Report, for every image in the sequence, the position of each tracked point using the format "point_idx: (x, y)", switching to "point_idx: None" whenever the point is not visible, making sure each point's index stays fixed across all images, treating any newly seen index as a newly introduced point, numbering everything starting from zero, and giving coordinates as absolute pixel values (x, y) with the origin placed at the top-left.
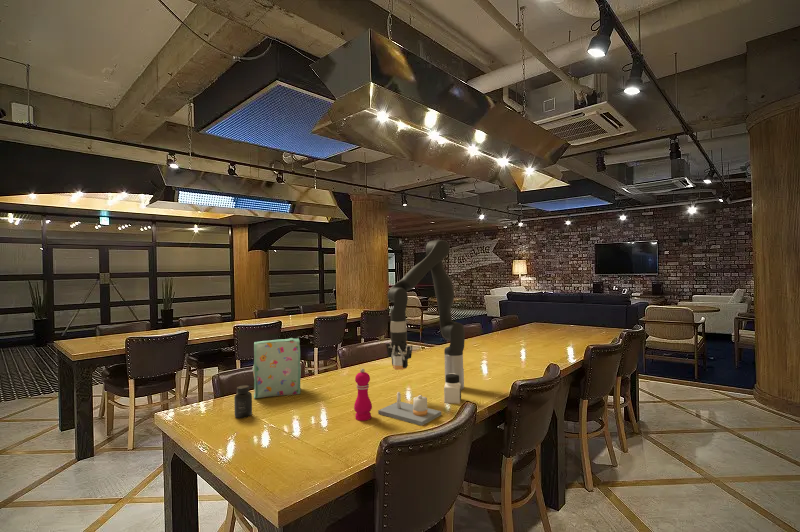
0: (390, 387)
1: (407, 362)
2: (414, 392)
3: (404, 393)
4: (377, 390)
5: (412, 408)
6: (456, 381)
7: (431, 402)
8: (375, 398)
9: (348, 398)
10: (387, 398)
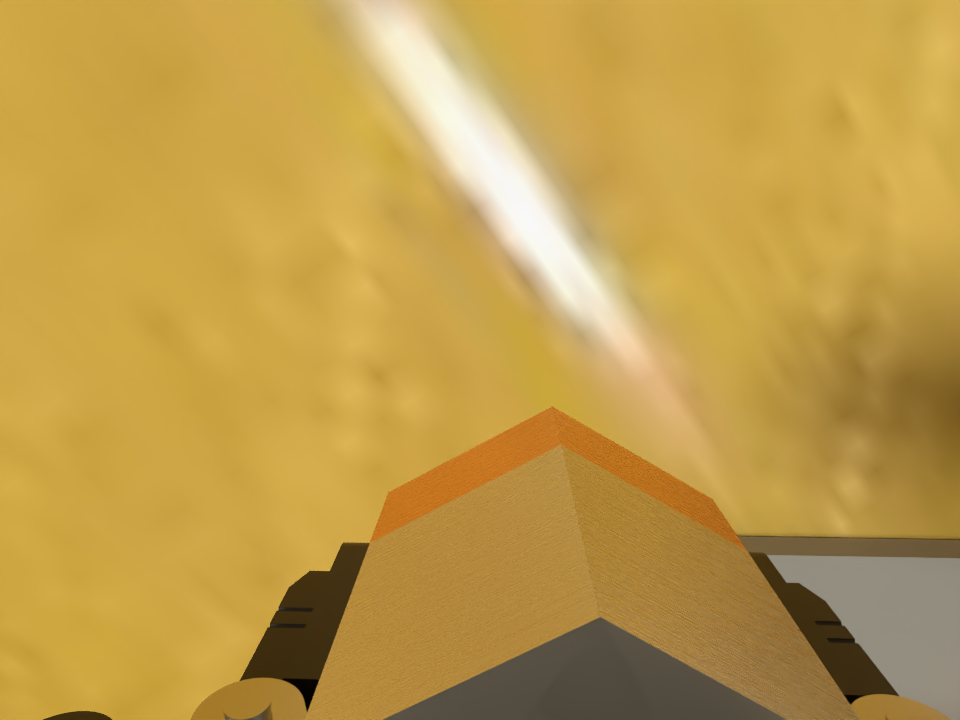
0: (68, 34)
1: (867, 666)
2: (505, 31)
3: (416, 154)
4: (36, 259)
5: (894, 656)
6: None
7: (918, 261)
8: (255, 514)
9: (19, 669)
10: (369, 439)
